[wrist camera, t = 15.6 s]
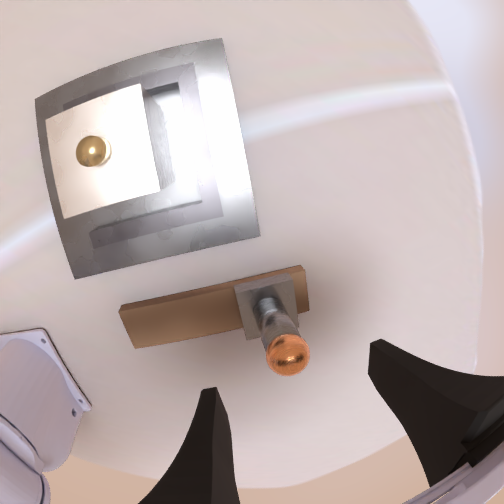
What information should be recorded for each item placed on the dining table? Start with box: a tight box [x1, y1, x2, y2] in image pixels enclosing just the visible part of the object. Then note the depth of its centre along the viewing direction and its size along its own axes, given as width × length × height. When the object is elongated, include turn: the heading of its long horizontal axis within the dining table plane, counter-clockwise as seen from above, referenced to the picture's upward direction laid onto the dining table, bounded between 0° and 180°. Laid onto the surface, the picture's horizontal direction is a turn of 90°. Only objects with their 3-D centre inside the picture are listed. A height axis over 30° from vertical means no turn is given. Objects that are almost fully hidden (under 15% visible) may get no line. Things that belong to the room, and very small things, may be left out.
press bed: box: [35, 38, 260, 279], centre depth 15 cm, size 13×13×2 cm
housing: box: [45, 84, 176, 219], centre depth 12 cm, size 4×4×7 cm
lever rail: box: [119, 265, 309, 349], centre depth 19 cm, size 3×13×1 cm, turn 101°
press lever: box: [234, 272, 310, 376], centre depth 16 cm, size 4×4×7 cm
